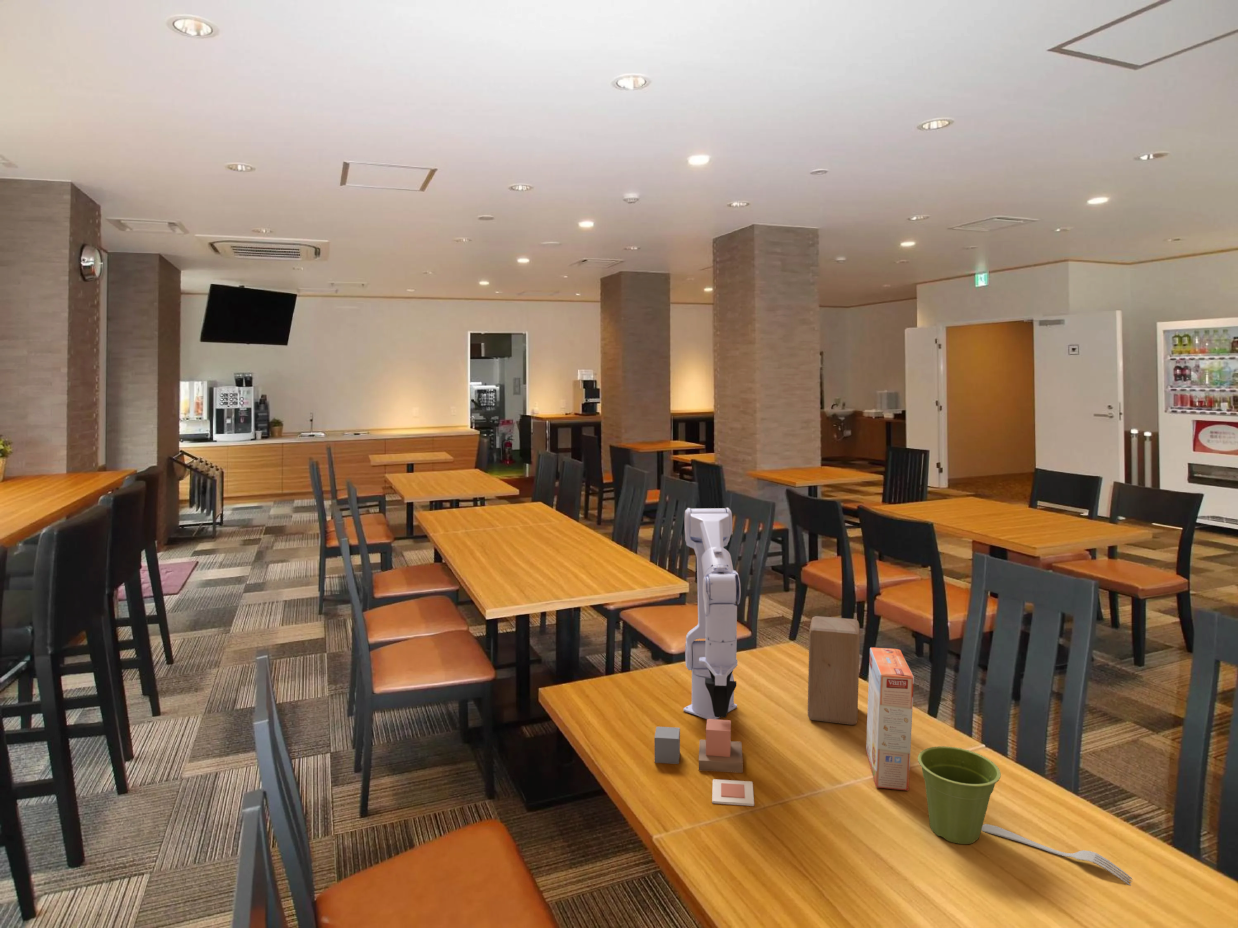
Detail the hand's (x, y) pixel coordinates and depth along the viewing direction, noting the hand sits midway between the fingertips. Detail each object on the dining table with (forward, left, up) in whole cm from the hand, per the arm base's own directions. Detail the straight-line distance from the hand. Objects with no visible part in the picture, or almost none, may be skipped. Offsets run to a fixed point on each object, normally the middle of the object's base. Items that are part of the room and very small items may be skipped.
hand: (720, 707), depth 140 cm
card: (+8, +8, -10) cm, 16 cm away
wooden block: (-32, +7, -11) cm, 34 cm away
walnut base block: (0, 0, -11) cm, 11 cm away
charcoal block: (+6, -8, -10) cm, 14 cm away
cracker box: (-17, +25, -11) cm, 32 cm away
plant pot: (-6, +41, -11) cm, 43 cm away
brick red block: (0, 0, -8) cm, 9 cm away
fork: (-10, +54, -11) cm, 56 cm away
